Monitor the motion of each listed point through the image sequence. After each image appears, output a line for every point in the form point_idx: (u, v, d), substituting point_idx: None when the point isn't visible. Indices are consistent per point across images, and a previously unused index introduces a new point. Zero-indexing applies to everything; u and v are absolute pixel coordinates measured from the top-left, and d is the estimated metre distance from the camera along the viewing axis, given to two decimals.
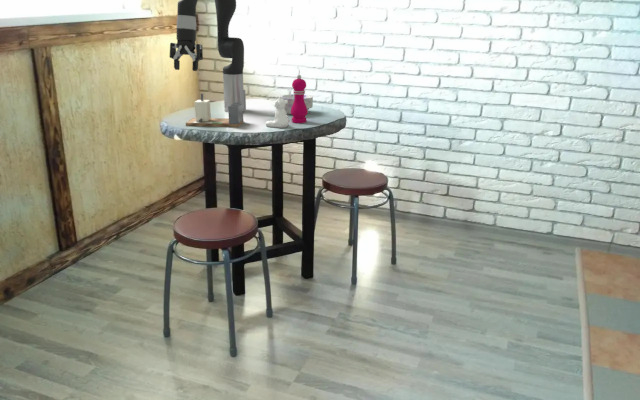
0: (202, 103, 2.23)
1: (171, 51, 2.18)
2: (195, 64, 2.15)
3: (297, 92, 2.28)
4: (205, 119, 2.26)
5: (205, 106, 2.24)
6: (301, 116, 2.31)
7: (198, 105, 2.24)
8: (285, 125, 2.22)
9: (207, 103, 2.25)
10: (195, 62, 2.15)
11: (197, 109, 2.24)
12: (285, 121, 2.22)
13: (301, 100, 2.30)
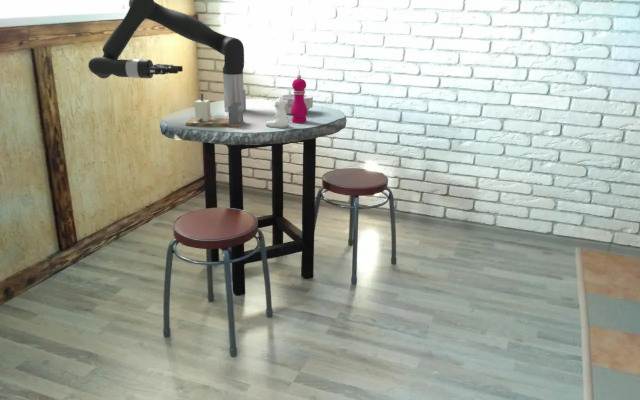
0: (202, 103, 2.23)
1: None
2: None
3: (297, 92, 2.28)
4: (205, 119, 2.26)
5: (205, 106, 2.24)
6: (301, 116, 2.31)
7: (198, 105, 2.24)
8: (285, 125, 2.22)
9: (207, 103, 2.25)
10: None
11: (197, 109, 2.24)
12: (285, 121, 2.22)
13: (301, 100, 2.30)
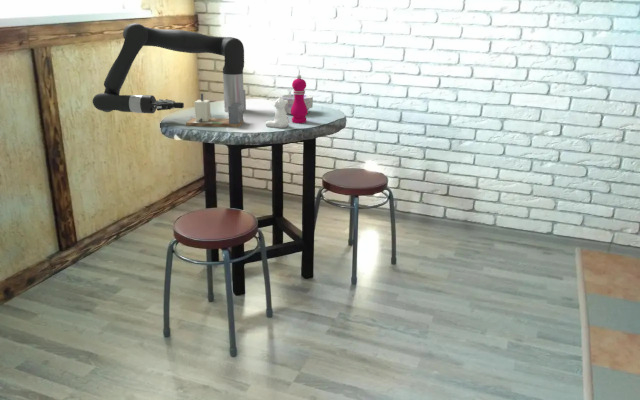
0: (202, 103, 2.23)
1: None
2: None
3: (297, 92, 2.28)
4: (205, 119, 2.26)
5: (205, 106, 2.24)
6: (301, 116, 2.31)
7: (198, 105, 2.24)
8: (285, 125, 2.22)
9: (207, 103, 2.25)
10: (174, 107, 2.26)
11: (197, 109, 2.24)
12: (285, 121, 2.22)
13: (301, 100, 2.30)
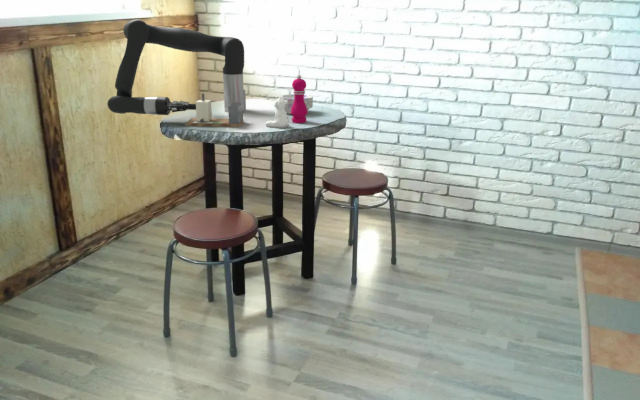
0: (203, 103, 2.23)
1: None
2: (191, 108, 2.26)
3: (297, 92, 2.28)
4: (206, 119, 2.26)
5: (206, 106, 2.24)
6: (301, 116, 2.31)
7: (199, 106, 2.24)
8: (285, 125, 2.22)
9: (208, 103, 2.25)
10: (189, 108, 2.26)
11: (198, 109, 2.24)
12: (285, 121, 2.22)
13: (301, 100, 2.30)
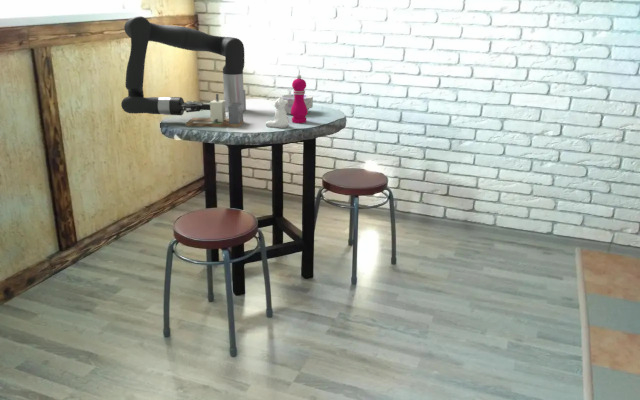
0: (217, 103, 2.23)
1: None
2: (205, 108, 2.26)
3: (297, 92, 2.28)
4: (220, 119, 2.25)
5: (220, 106, 2.23)
6: (301, 116, 2.31)
7: (213, 106, 2.23)
8: (285, 125, 2.22)
9: (222, 103, 2.24)
10: (203, 109, 2.26)
11: (212, 109, 2.24)
12: (285, 121, 2.22)
13: (301, 100, 2.30)
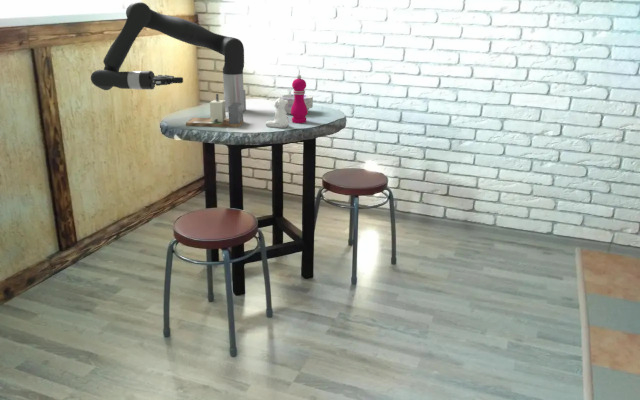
0: (217, 103, 2.23)
1: None
2: (176, 82, 2.23)
3: (297, 92, 2.28)
4: (220, 119, 2.25)
5: (220, 106, 2.23)
6: (301, 116, 2.31)
7: (213, 106, 2.23)
8: (285, 125, 2.22)
9: (222, 103, 2.24)
10: (174, 82, 2.23)
11: (212, 109, 2.24)
12: (285, 121, 2.22)
13: (301, 100, 2.30)
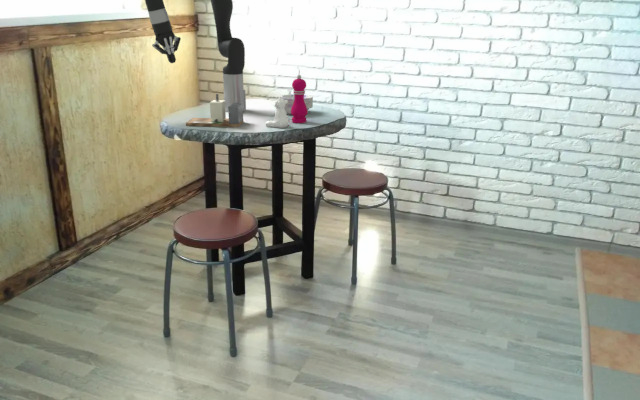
0: (217, 103, 2.23)
1: None
2: None
3: (297, 92, 2.28)
4: (220, 119, 2.25)
5: (220, 106, 2.23)
6: (301, 116, 2.31)
7: (213, 106, 2.23)
8: (285, 125, 2.22)
9: (222, 103, 2.24)
10: None
11: (212, 109, 2.24)
12: (285, 121, 2.22)
13: (301, 100, 2.30)
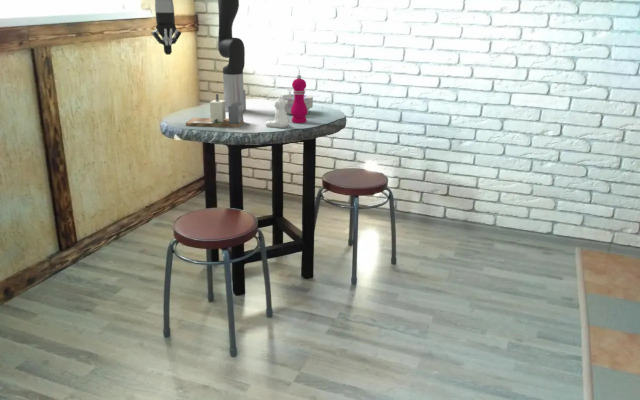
0: (217, 103, 2.23)
1: None
2: None
3: (297, 92, 2.28)
4: (220, 119, 2.25)
5: (220, 106, 2.23)
6: (301, 116, 2.31)
7: (213, 106, 2.23)
8: (285, 125, 2.22)
9: (222, 103, 2.24)
10: None
11: (212, 109, 2.24)
12: (285, 121, 2.22)
13: (301, 100, 2.30)
